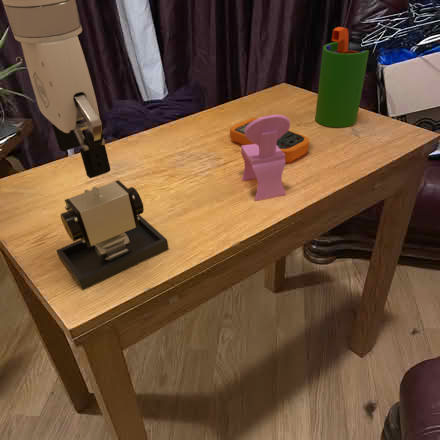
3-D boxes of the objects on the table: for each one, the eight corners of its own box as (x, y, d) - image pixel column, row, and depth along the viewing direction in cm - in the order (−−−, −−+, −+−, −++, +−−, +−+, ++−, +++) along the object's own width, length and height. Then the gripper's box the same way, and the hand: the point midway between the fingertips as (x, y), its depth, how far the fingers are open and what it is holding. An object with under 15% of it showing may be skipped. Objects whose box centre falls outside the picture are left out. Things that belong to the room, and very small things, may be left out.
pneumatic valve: (152, 245, 72) (138, 182, 63) (87, 275, 67) (63, 210, 59) (137, 230, 75) (122, 168, 67) (74, 257, 71) (50, 194, 62)
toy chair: (274, 172, 88) (277, 97, 77) (291, 193, 82) (296, 115, 71) (236, 179, 87) (233, 104, 76) (250, 202, 81) (249, 123, 70)
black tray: (82, 290, 66) (78, 280, 64) (59, 259, 71) (55, 250, 70) (168, 249, 72) (167, 239, 70) (141, 223, 78) (139, 214, 76)
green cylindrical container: (362, 118, 104) (379, 23, 90) (344, 131, 100) (359, 34, 86) (326, 109, 109) (337, 18, 95) (307, 121, 105) (315, 28, 91)
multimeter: (286, 167, 89) (287, 151, 87) (227, 141, 99) (227, 126, 97) (312, 152, 93) (314, 137, 91) (254, 129, 103) (254, 115, 101)
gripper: (-11, 11, 51) (37, 146, 63) (38, 42, 41) (84, 195, 53) (49, 1, 54) (84, 132, 66) (109, 27, 44) (137, 176, 56)
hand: (84, 160), depth 60 cm, fingers open, 9 cm apart
